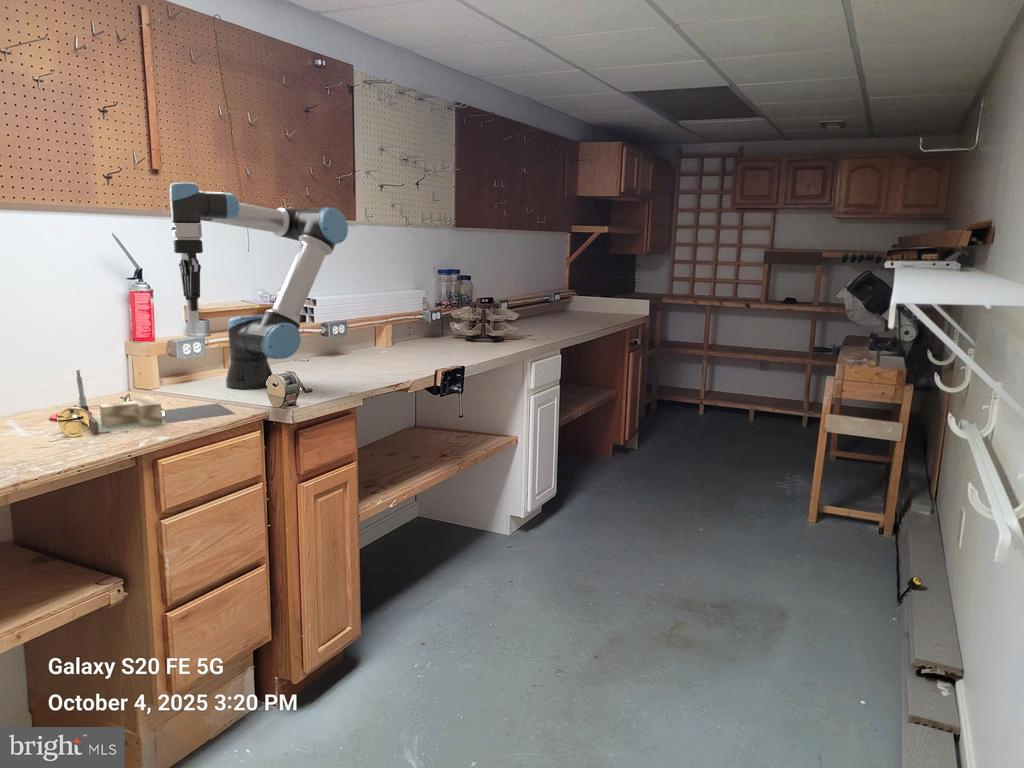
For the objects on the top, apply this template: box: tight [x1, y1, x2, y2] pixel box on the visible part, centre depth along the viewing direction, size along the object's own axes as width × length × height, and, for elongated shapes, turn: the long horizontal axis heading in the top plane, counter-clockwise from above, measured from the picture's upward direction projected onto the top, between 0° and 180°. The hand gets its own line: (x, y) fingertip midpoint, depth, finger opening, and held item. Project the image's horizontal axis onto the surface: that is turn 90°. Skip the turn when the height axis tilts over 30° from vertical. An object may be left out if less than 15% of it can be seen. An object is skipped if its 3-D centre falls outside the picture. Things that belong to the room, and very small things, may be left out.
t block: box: [99, 395, 162, 426], centre depth 197 cm, size 13×12×5 cm
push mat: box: [85, 402, 236, 435], centre depth 202 cm, size 35×16×3 cm, turn 128°
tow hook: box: [49, 368, 92, 422], centre depth 202 cm, size 8×13×9 cm
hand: (193, 321), depth 215 cm, fingers closed
